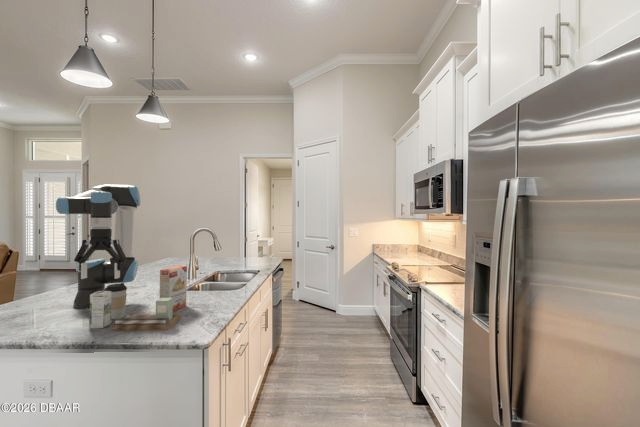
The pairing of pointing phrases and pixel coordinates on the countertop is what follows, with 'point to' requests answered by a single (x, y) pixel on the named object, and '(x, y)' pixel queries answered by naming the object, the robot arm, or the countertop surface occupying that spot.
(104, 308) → the syrup box
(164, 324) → the shelf board
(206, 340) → the countertop surface
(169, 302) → the pale green box
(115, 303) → the coffee cup
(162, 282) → the cracker box
